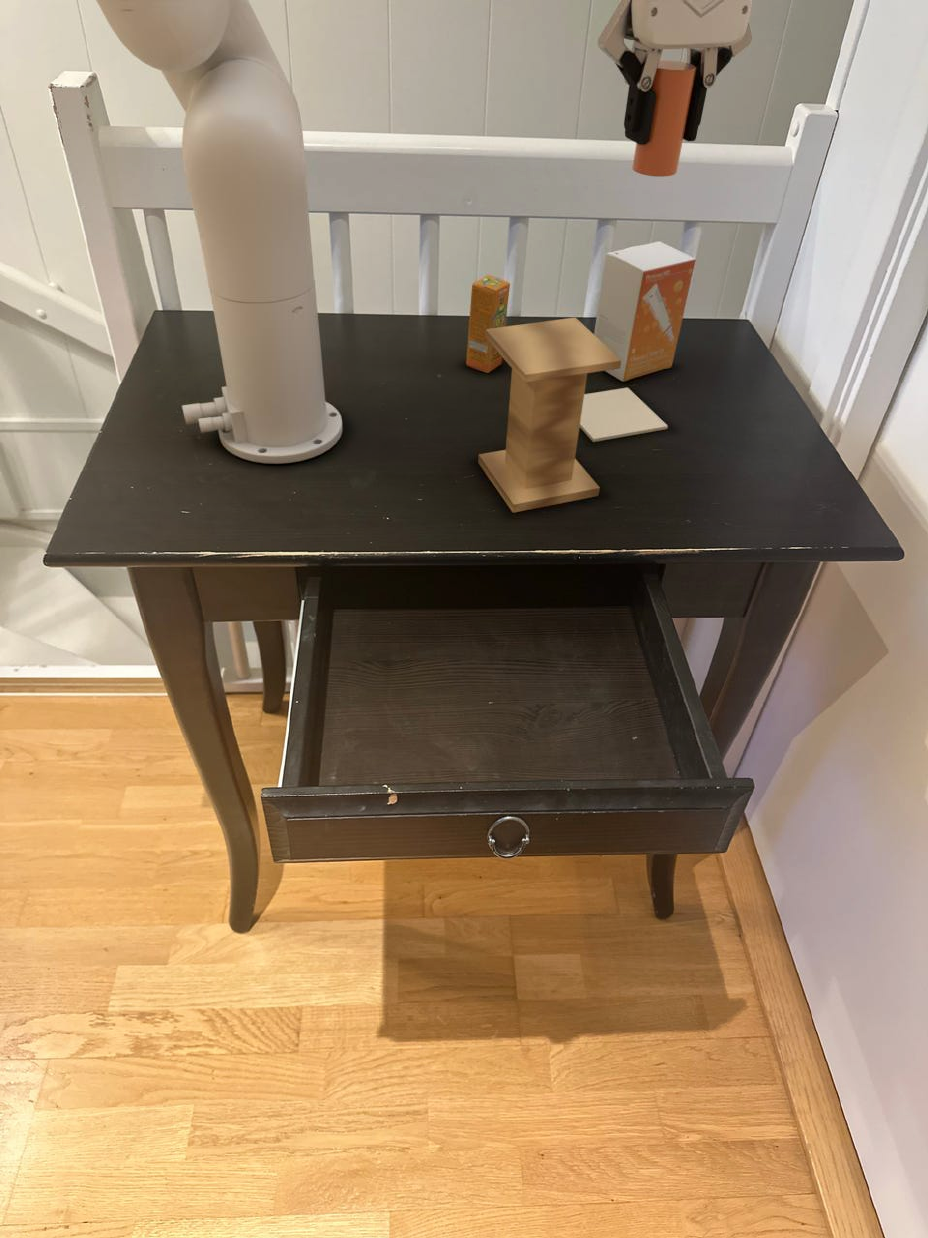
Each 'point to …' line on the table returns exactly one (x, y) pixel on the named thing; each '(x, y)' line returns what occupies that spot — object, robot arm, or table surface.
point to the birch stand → (545, 412)
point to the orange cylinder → (666, 120)
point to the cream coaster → (617, 415)
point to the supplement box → (486, 321)
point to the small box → (643, 306)
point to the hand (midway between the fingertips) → (660, 136)
